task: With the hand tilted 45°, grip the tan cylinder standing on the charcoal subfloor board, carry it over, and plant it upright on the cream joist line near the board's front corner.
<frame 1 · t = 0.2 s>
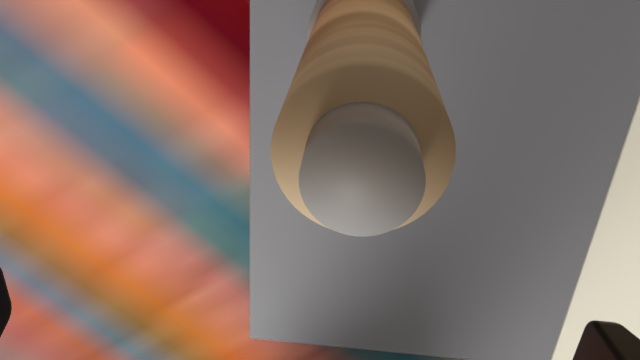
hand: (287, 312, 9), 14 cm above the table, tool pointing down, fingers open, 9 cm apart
subfloor board: (493, 187, 23), on the table
tan cylinder: (363, 24, 19), point 1 cm above the table, touching subfloor board
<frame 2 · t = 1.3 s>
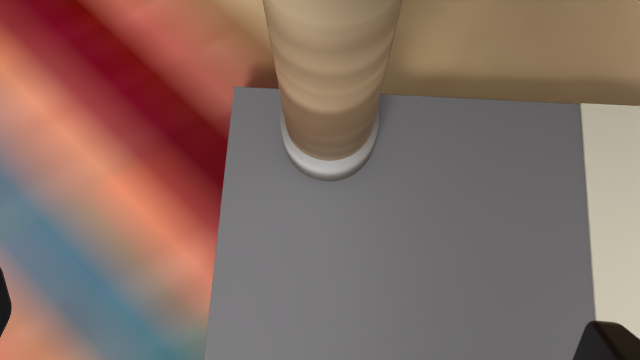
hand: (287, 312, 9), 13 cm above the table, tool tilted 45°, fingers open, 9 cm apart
subfloor board: (475, 316, 21), on the table
tan cylinder: (329, 137, 22), point 1 cm above the table, touching subfloor board
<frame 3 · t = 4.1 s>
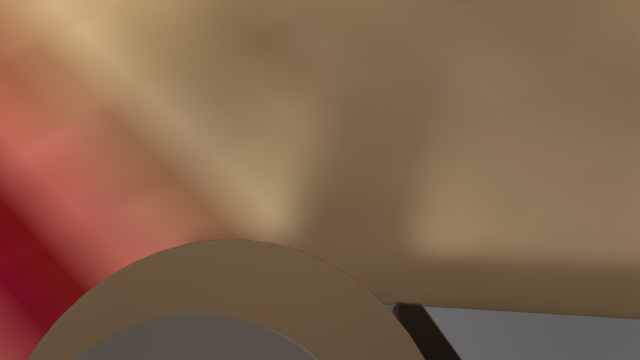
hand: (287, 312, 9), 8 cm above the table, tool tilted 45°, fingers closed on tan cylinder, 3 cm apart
when the fingers open (9 cm above the table, at t = 8.0 s): tan cylinder drops 1 cm, resting on subfloor board.
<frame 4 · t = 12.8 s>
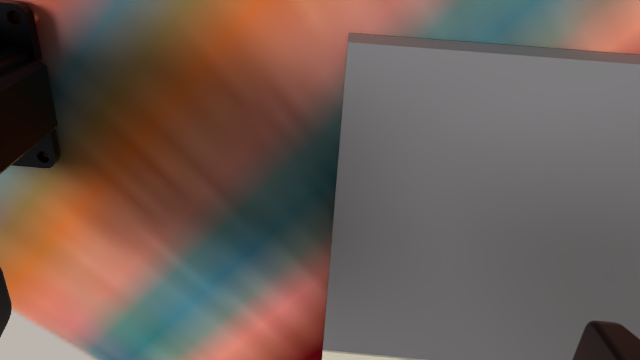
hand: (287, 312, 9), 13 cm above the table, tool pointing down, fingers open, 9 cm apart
subfloor board: (527, 280, 24), on the table
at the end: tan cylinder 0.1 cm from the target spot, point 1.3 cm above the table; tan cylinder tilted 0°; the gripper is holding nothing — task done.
